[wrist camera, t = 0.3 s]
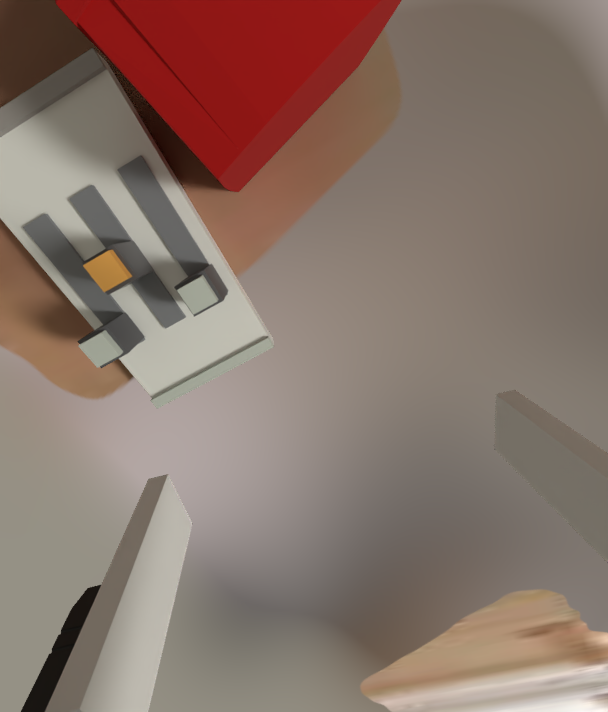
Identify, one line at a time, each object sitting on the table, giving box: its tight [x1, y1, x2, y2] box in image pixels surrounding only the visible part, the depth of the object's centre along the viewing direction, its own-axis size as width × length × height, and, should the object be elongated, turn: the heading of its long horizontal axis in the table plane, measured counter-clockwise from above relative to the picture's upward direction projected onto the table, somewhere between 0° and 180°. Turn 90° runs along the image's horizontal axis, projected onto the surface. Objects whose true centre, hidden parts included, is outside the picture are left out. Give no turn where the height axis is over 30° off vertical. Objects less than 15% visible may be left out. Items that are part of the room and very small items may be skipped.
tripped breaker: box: [82, 241, 154, 295], centre depth 29 cm, size 3×3×5 cm
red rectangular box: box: [55, 0, 401, 192], centre depth 22 cm, size 16×11×15 cm
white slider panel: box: [0, 48, 274, 408], centre depth 30 cm, size 28×15×8 cm, turn 27°
